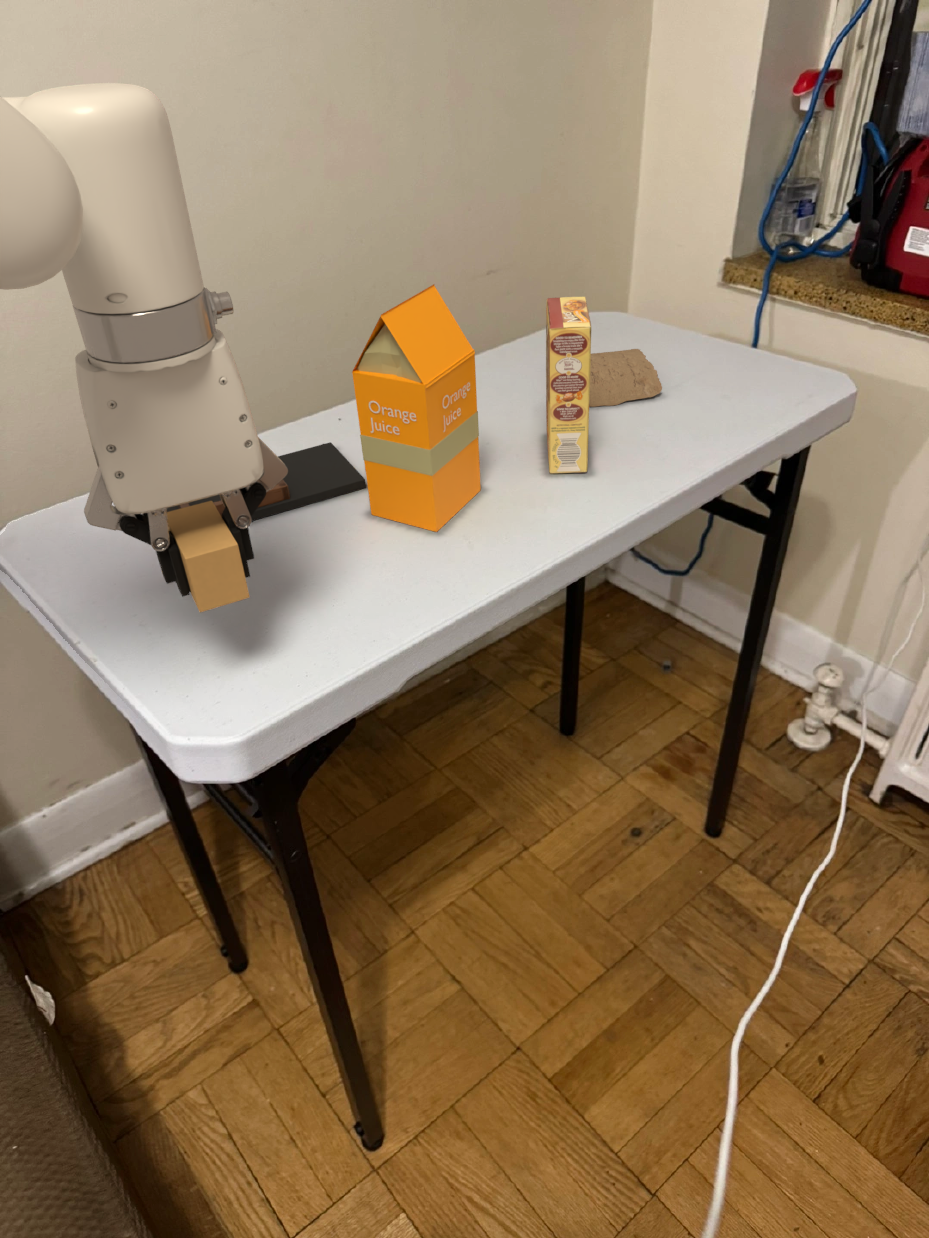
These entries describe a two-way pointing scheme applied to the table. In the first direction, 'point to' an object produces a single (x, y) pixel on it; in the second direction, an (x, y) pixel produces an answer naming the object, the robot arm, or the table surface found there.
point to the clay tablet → (621, 378)
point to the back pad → (303, 482)
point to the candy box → (567, 383)
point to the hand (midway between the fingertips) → (211, 575)
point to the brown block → (208, 556)
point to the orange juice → (418, 414)
